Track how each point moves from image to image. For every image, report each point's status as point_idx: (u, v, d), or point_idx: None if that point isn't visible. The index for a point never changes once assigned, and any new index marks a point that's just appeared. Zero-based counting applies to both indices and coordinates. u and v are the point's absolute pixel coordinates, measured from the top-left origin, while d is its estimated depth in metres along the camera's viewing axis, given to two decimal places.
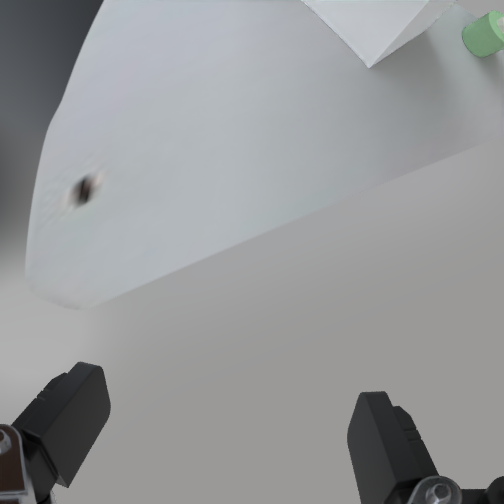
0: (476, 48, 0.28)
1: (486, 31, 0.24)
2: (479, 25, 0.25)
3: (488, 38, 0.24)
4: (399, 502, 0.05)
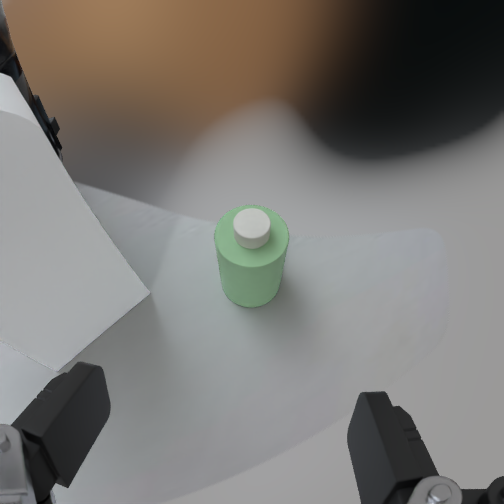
0: (235, 296, 0.25)
1: (219, 259, 0.22)
2: None
3: (227, 271, 0.22)
4: (399, 502, 0.05)
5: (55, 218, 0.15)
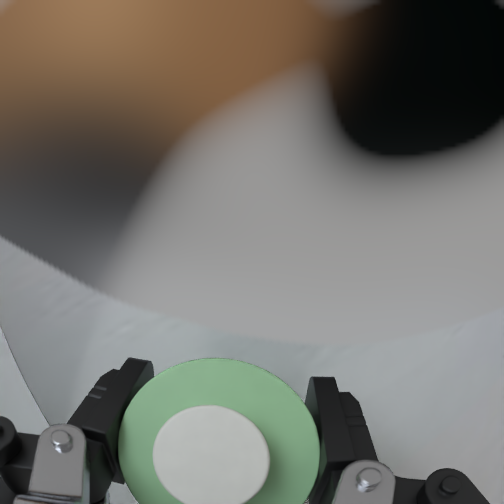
0: None
1: None
2: None
3: None
4: (331, 483, 0.06)
5: None
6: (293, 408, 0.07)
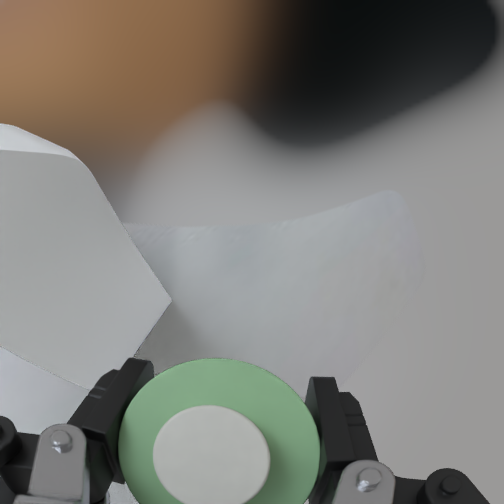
0: None
1: None
2: None
3: None
4: (331, 483, 0.06)
5: (100, 245, 0.18)
6: (293, 408, 0.07)
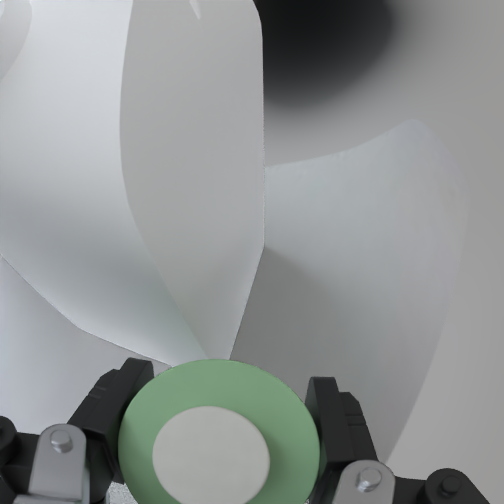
0: None
1: None
2: None
3: None
4: (332, 483, 0.06)
5: (252, 138, 0.14)
6: (293, 409, 0.07)
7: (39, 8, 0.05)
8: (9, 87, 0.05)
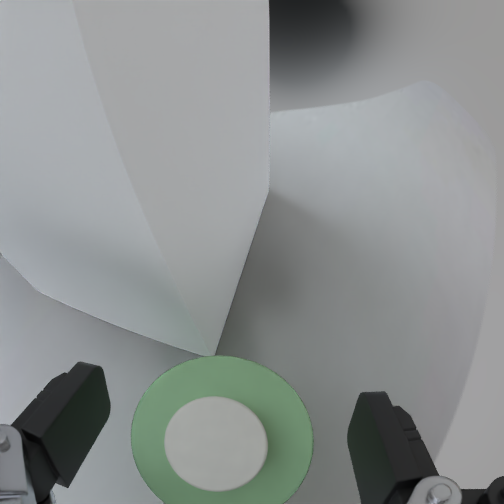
0: None
1: None
2: None
3: None
4: (399, 502, 0.05)
5: (255, 3, 0.09)
6: (289, 400, 0.08)
7: None
8: None
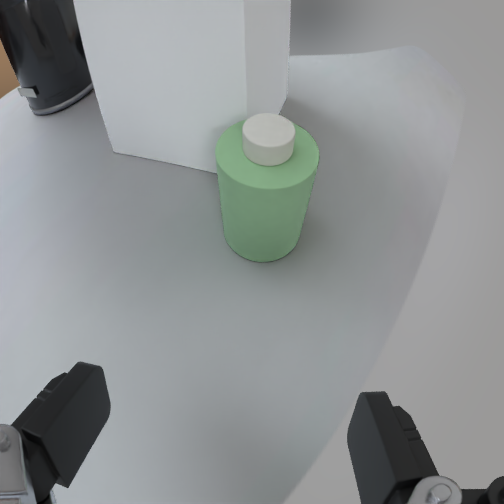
0: (240, 243, 0.19)
1: (221, 184, 0.16)
2: None
3: (231, 201, 0.16)
4: (399, 502, 0.05)
5: None
6: (304, 134, 0.15)
7: None
8: None
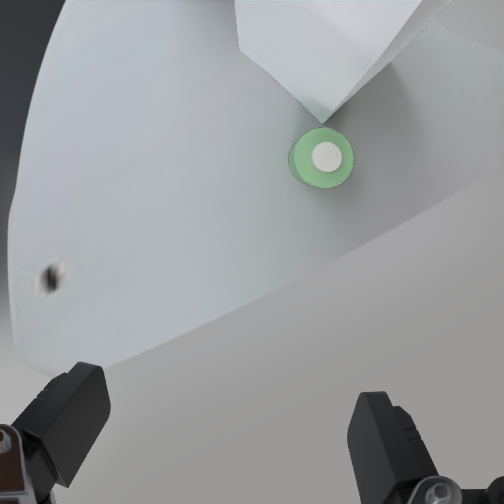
0: (293, 172, 0.31)
1: (292, 157, 0.26)
2: (296, 143, 0.27)
3: (293, 167, 0.27)
4: (399, 502, 0.05)
5: (424, 26, 0.17)
6: (350, 157, 0.25)
7: None
8: None
